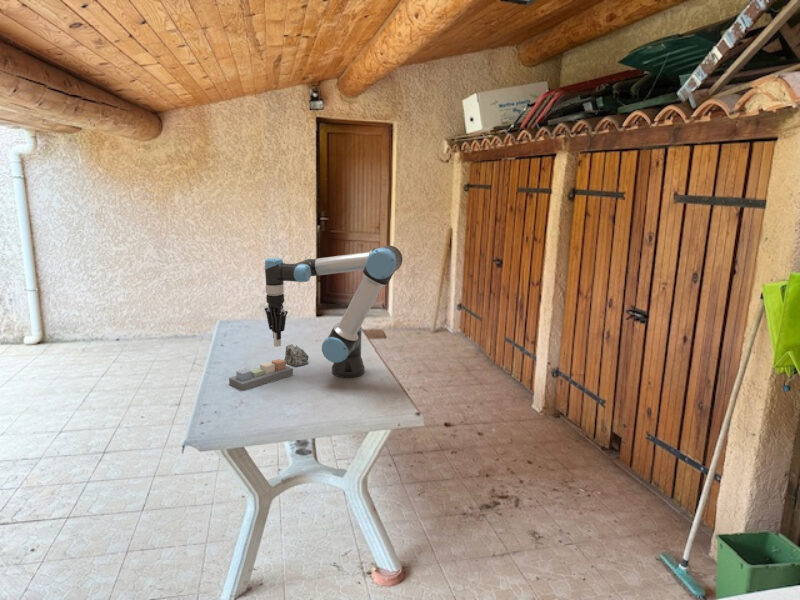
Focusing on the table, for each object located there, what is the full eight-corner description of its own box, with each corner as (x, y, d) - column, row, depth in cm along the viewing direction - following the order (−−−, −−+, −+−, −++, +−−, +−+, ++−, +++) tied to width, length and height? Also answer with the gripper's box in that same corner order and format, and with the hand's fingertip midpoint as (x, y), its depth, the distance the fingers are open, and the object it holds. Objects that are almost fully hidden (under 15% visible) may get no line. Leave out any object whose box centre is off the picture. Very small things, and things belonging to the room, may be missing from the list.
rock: (276, 365, 247) (278, 354, 240) (286, 351, 253) (289, 339, 246) (300, 378, 246) (303, 366, 239) (310, 363, 253) (313, 352, 246)
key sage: (263, 379, 222) (263, 370, 221) (254, 381, 219) (254, 373, 218) (257, 376, 225) (257, 368, 224) (248, 379, 222) (248, 370, 221)
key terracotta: (285, 369, 231) (285, 361, 230) (277, 371, 228) (277, 363, 227) (279, 367, 234) (279, 358, 233) (271, 369, 230) (271, 361, 230)
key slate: (251, 380, 217) (251, 371, 217) (242, 382, 214) (242, 373, 213) (245, 377, 220) (245, 368, 219) (236, 380, 217) (236, 371, 216)
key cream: (274, 372, 227) (274, 364, 226) (266, 375, 223) (266, 366, 222) (268, 370, 229) (268, 361, 228) (260, 372, 226) (260, 364, 225)
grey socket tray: (293, 374, 231) (292, 368, 230) (242, 391, 212) (242, 384, 211) (279, 369, 237) (279, 363, 237) (229, 384, 218) (229, 377, 217)
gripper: (291, 294, 221) (293, 346, 226) (272, 290, 229) (274, 341, 234) (277, 297, 215) (280, 350, 220) (258, 293, 223) (261, 345, 228)
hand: (277, 345), depth 227 cm, fingers closed
